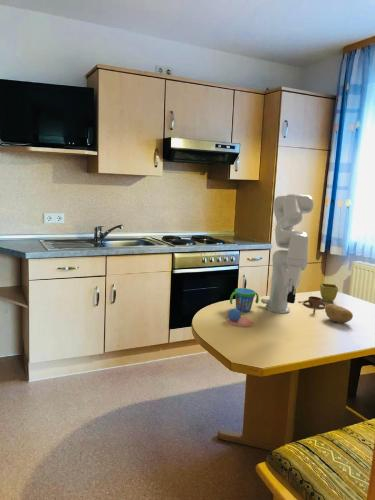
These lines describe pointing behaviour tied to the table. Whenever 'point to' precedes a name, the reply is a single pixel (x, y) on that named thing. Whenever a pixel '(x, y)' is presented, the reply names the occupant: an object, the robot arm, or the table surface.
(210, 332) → the table surface
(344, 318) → the potato
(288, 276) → the robot arm
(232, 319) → the ball
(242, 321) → the disc
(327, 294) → the flower pot
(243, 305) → the snack cup
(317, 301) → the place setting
